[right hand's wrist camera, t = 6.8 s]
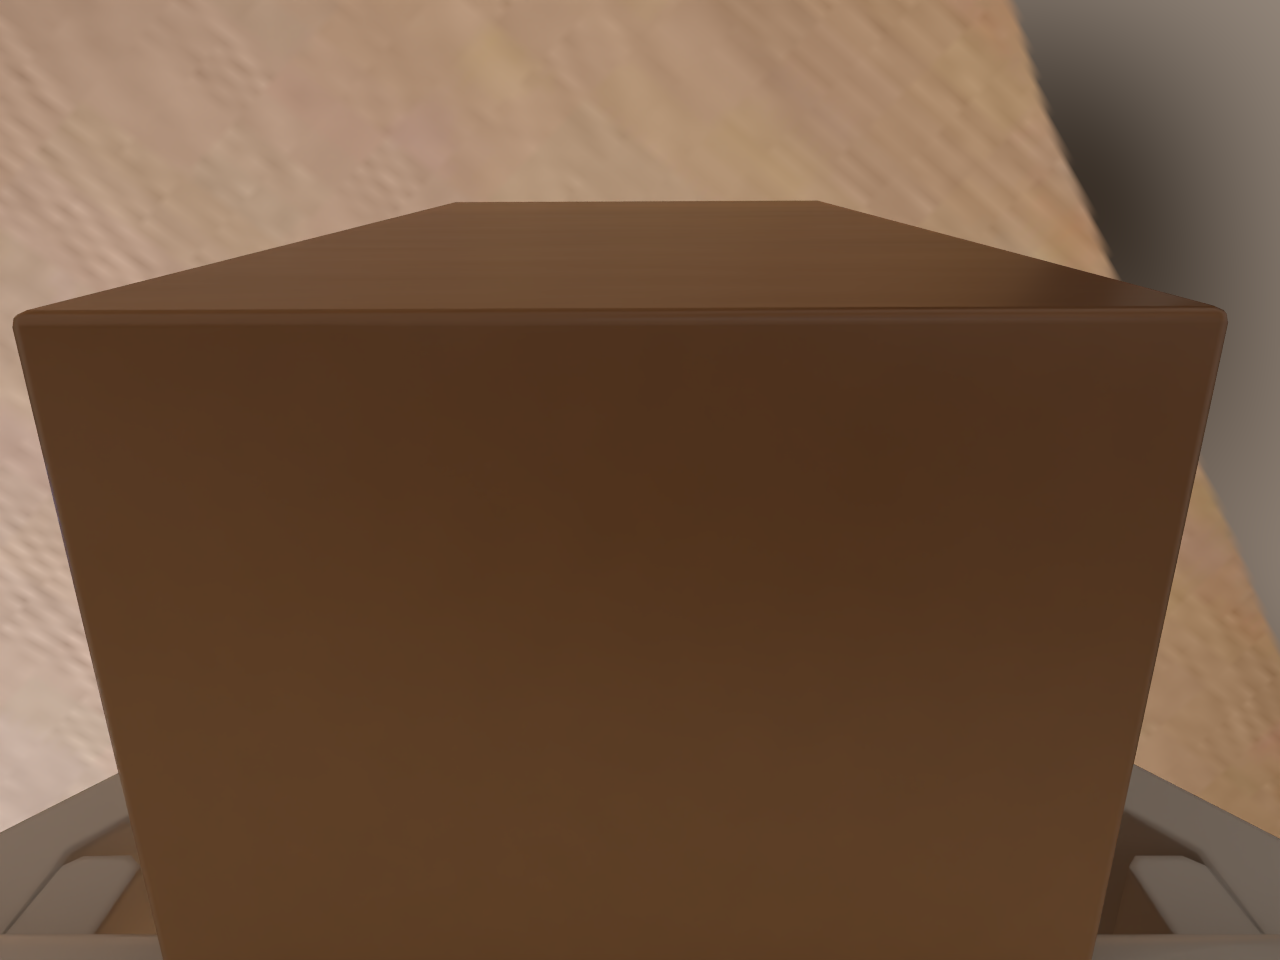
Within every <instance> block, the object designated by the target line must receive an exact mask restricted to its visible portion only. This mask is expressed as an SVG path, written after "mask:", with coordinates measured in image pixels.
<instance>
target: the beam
mask: <svg viewBox="0 0 1280 960" xmlns="http://www.w3.org/2000/svg"><path fill="white" fill-rule="evenodd" d="M1227 325H1228V321H1227V314H1226V313H1225V311H1224V310H1222V309H1220V308H1217V307H1215V306H1212V305H1209V304H1205V303H1201V302H1198V301H1194V300H1190V299H1186V298H1182V297H1179V296H1175V295H1171V294H1167V293H1164V292H1160V291H1156V290H1152V289H1149V288H1145V287H1141V286H1137V285H1133V284H1130V283H1126V282H1122V281H1118V280H1115V279H1111V278H1107V277H1103V276H1100V275H1096V274H1092V273H1088V272H1084V271H1081V270H1077V269H1073V268H1069V267H1066V266H1062V265H1058V264H1054V263H1050V262H1047V261H1043V260H1039V259H1035V258H1032V257H1028V256H1024V255H1020V254H1017V253H1013V252H1009V251H1005V250H1001V249H998V248H994V247H990V246H986V245H983V244H979V243H975V242H971V241H967V240H964V239H960V238H956V237H952V236H949V235H945V234H941V233H937V232H934V231H930V230H926V229H922V228H918V227H915V226H911V225H907V224H903V223H900V222H896V221H892V220H888V219H885V218H881V217H877V216H873V215H869V214H866V213H862V212H858V211H854V210H851V209H847V208H843V207H839V206H835V205H832V204H828V203H824V202H820V201H648V202H455V203H451V204H447V205H443V206H439V207H435V208H431V209H427V210H423V211H419V212H415V213H411V214H407V215H403V216H399V217H395V218H391V219H387V220H383V221H379V222H375V223H372V224H368V225H364V226H360V227H356V228H352V229H348V230H344V231H340V232H336V233H332V234H328V235H324V236H320V237H316V238H312V239H308V240H304V241H300V242H296V243H292V244H288V245H284V246H280V247H276V248H272V249H268V250H264V251H260V252H256V253H252V254H248V255H244V256H241V257H237V258H233V259H229V260H225V261H221V262H217V263H213V264H209V265H205V266H201V267H197V268H193V269H189V270H185V271H181V272H177V273H173V274H169V275H165V276H161V277H157V278H153V279H149V280H145V281H141V282H137V283H133V284H129V285H125V286H121V287H117V288H113V289H110V290H106V291H102V292H98V293H94V294H90V295H86V296H82V297H78V298H74V299H70V300H66V301H62V302H58V303H54V304H50V305H46V306H42V307H38V308H34V309H30V310H26V311H24V312H22V313H20V314H18V315H16V317H15V318H14V320H13V332H14V336H15V340H16V344H17V348H18V353H19V357H20V361H21V365H22V369H23V374H24V378H25V382H26V386H27V390H28V395H29V399H30V403H31V407H32V411H33V416H34V420H35V424H36V428H37V432H38V437H39V441H40V445H41V449H42V453H43V458H44V462H45V466H46V470H47V474H48V479H49V483H50V487H51V491H52V495H53V500H54V504H55V508H56V512H57V516H58V521H59V525H60V529H61V533H62V537H63V542H64V546H65V550H66V554H67V558H68V563H69V567H70V571H71V575H72V579H73V584H74V588H75V592H76V596H77V600H78V605H79V609H80V613H81V617H82V621H83V626H84V630H85V634H86V638H87V642H88V647H89V651H90V655H91V659H92V663H93V668H94V672H95V676H96V680H97V684H98V689H99V693H100V697H101V701H102V705H103V710H104V714H105V718H106V722H107V726H108V731H109V735H110V739H111V743H112V747H113V752H114V756H115V760H116V764H117V768H118V773H119V777H120V781H121V785H122V789H123V794H124V798H125V802H126V806H127V810H128V815H129V819H130V823H131V827H132V831H133V836H134V840H135V844H136V848H137V852H138V857H139V861H140V865H141V869H142V873H143V878H144V882H145V886H146V890H147V894H148V899H149V903H150V907H151V911H152V915H153V920H154V924H155V928H156V932H157V936H158V941H159V945H160V949H161V953H162V957H163V960H1092V956H1093V951H1094V946H1095V942H1096V937H1097V932H1098V928H1099V923H1100V918H1101V914H1102V909H1103V904H1104V900H1105V895H1106V890H1107V886H1108V881H1109V876H1110V872H1111V867H1112V862H1113V858H1114V853H1115V848H1116V844H1117V839H1118V834H1119V830H1120V825H1121V820H1122V816H1123V811H1124V806H1125V802H1126V797H1127V792H1128V788H1129V783H1130V778H1131V773H1132V769H1133V764H1134V759H1135V755H1136V750H1137V745H1138V741H1139V736H1140V731H1141V727H1142V722H1143V717H1144V713H1145V708H1146V703H1147V699H1148V694H1149V689H1150V685H1151V680H1152V675H1153V671H1154V666H1155V661H1156V657H1157V652H1158V647H1159V643H1160V638H1161V633H1162V629H1163V624H1164V619H1165V615H1166V610H1167V605H1168V601H1169V596H1170V591H1171V586H1172V582H1173V577H1174V572H1175V568H1176V563H1177V558H1178V554H1179V549H1180V544H1181V540H1182V535H1183V530H1184V526H1185V521H1186V516H1187V512H1188V507H1189V502H1190V498H1191V493H1192V488H1193V484H1194V479H1195V474H1196V470H1197V465H1198V460H1199V456H1200V451H1201V446H1202V442H1203V437H1204V432H1205V427H1206V423H1207V418H1208V413H1209V409H1210V404H1211V399H1212V395H1213V390H1214V385H1215V381H1216V376H1217V371H1218V367H1219V362H1220V357H1221V353H1222V348H1223V343H1224V339H1225V334H1226V329H1227Z"/></svg>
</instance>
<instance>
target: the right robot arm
mask: <svg viewBox="0 0 1280 960" xmlns="http://www.w3.org/2000/svg"><path fill="white" fill-rule="evenodd" d="M0 960H163V957H162V953H161V949H160V945H159V941H158V936H157V932H156V928H155V924H154V920H153V915H152V911H151V907H150V903H149V899H148V894H147V890H146V886H145V882H144V878H143V873H142V869H141V865H140V861H139V857H138V852H137V848H136V844H135V840H134V836H133V831H132V827H131V823H130V819H129V815H128V810H127V806H126V802H125V798H124V794H123V789H122V785H121V781H120V777H119V773H118V774H116V775H114V776H112V777H110V778H108V779H106V780H104V781H102V782H100V783H98V784H96V785H94V786H92V787H90V788H88V789H86V790H84V791H82V792H80V793H78V794H76V795H74V796H72V797H70V798H68V799H66V800H64V801H62V802H60V803H58V804H56V805H54V806H52V807H50V808H48V809H46V810H44V811H42V812H40V813H38V814H36V815H34V816H32V817H30V818H28V819H26V820H24V821H22V822H20V823H19V824H17V825H15V826H13V827H11V828H9V829H7V830H5V831H3V832H1V833H0ZM1092 960H1280V839H1279V838H1277V837H1275V836H1273V835H1271V834H1269V833H1267V832H1265V831H1263V830H1262V829H1260V828H1258V827H1256V826H1254V825H1252V824H1250V823H1248V822H1246V821H1244V820H1242V819H1240V818H1238V817H1236V816H1234V815H1232V814H1230V813H1228V812H1226V811H1224V810H1222V809H1220V808H1218V807H1217V806H1215V805H1213V804H1211V803H1209V802H1207V801H1205V800H1203V799H1201V798H1199V797H1197V796H1195V795H1193V794H1191V793H1189V792H1187V791H1185V790H1183V789H1181V788H1179V787H1177V786H1175V785H1174V784H1172V783H1170V782H1168V781H1166V780H1164V779H1162V778H1160V777H1158V776H1156V775H1154V774H1152V773H1150V772H1148V771H1146V770H1144V769H1142V768H1140V767H1138V766H1136V765H1134V764H1133V769H1132V773H1131V778H1130V783H1129V788H1128V792H1127V797H1126V802H1125V806H1124V811H1123V816H1122V820H1121V825H1120V830H1119V834H1118V839H1117V844H1116V848H1115V853H1114V858H1113V862H1112V867H1111V872H1110V876H1109V881H1108V886H1107V890H1106V895H1105V900H1104V904H1103V909H1102V914H1101V918H1100V923H1099V928H1098V932H1097V937H1096V942H1095V946H1094V951H1093V956H1092Z"/></svg>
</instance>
